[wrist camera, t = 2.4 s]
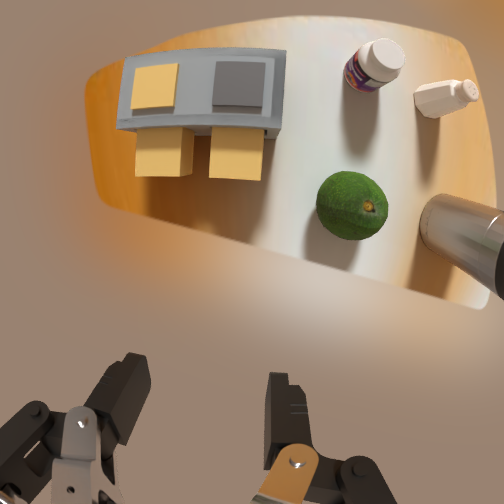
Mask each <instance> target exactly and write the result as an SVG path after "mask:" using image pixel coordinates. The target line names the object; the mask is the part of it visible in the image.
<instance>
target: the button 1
mask: <svg viewBox="0 0 504 504" xmlns="http://www.w3.org/2000/svg"><path fill="white" fill-rule="evenodd" d="M194 135H195V131H193V130H190V129H188V128H186V127H168V128H147V129H137V143H136V164H135V176H177V177H180V176H185V175H191V174H192V167H193V149H194Z"/></svg>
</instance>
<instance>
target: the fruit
mask: <svg viewBox="0 0 504 504" xmlns="http://www.w3.org/2000/svg"><path fill="white" fill-rule="evenodd" d="M316 206H317V213H318V216H319V219H320V221H321V223H322V224H323V226H324V227H325V228H326V229H328V230H329V231H330V232H331V233H333V234H334V235H336V236H338V237H340V238H343V239H347V240H363V239H366V238H369V237H371V236H372V235H374V234H375V233H377V232H378V231H379V230H380V229H381V227H382V226H383V225H384V223H385V221H386V219H387V217H388V202H387V199H386V196H385V194H384V193H383V191H382V190H381V188H380V187H379V186H378V185H377V184H376V183H375V182H374V181H373V180H372V179H370V178H369V177H367V176H365V175H364V174H360V173H356V172H349V171H341V172H338V173H335V174H333V175H331V176H330V177H329V178H327V179H326V180H325V181H324V183H323V184H322V185H321V187H320V189H319V191H318V194H317V200H316Z"/></svg>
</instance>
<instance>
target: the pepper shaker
mask: <svg viewBox="0 0 504 504" xmlns="http://www.w3.org/2000/svg"><path fill="white" fill-rule="evenodd" d="M414 98H415V106H416V107H417V108H418V109H419V111H420V112H421V113H422V114H423V116H424V117H429V118H433V119H436V118H438V117H441V116H444V115H446V114H449V113H451V112H454V111H457V110H459V109H462V108H464V107H466V106H467V104H468V103H469V102H476V101H477V100H478V98H479V92H478V89H477V87H476V85H475V84H474V83H473V82H472V81H471V80H468V79H466V80H464V81H462V82H460V81H457V80H447V81H441V82H435V83H430V84H425V85H420V87H419V88H418V89H417V90H416V91H415V92H414Z"/></svg>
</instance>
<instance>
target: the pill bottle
mask: <svg viewBox="0 0 504 504" xmlns="http://www.w3.org/2000/svg"><path fill="white" fill-rule="evenodd" d="M404 64H405V54H404V52H403V50H402V49H401V47H400V46H399V45H398V44H397V43H395V42H394V41H392V40H390V39H387V38H380V39H377V40H376V41H375V42H368V43H365V44H364V45H363V46H361V47H360V49H359V50H358V51H357V52H356V53H355V54H354V55H353V56H352V57H351V58H350V60H349V61H348V62H347V63H346V65H345V67H344V75H345V78H346V80H347V82H348V83H349V85H350V86H351V87H353V88H354V89H355V90H357V91H360V92H364V93H369V92H372V91H375V90H377V89H378V88H380V87H382V86H384V85H385V84H387V83H389V82H391V81H393V80H394V79H395V78H397V76H398V75H399V73H400V69H401V68H402V67H403V66H404Z"/></svg>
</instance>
